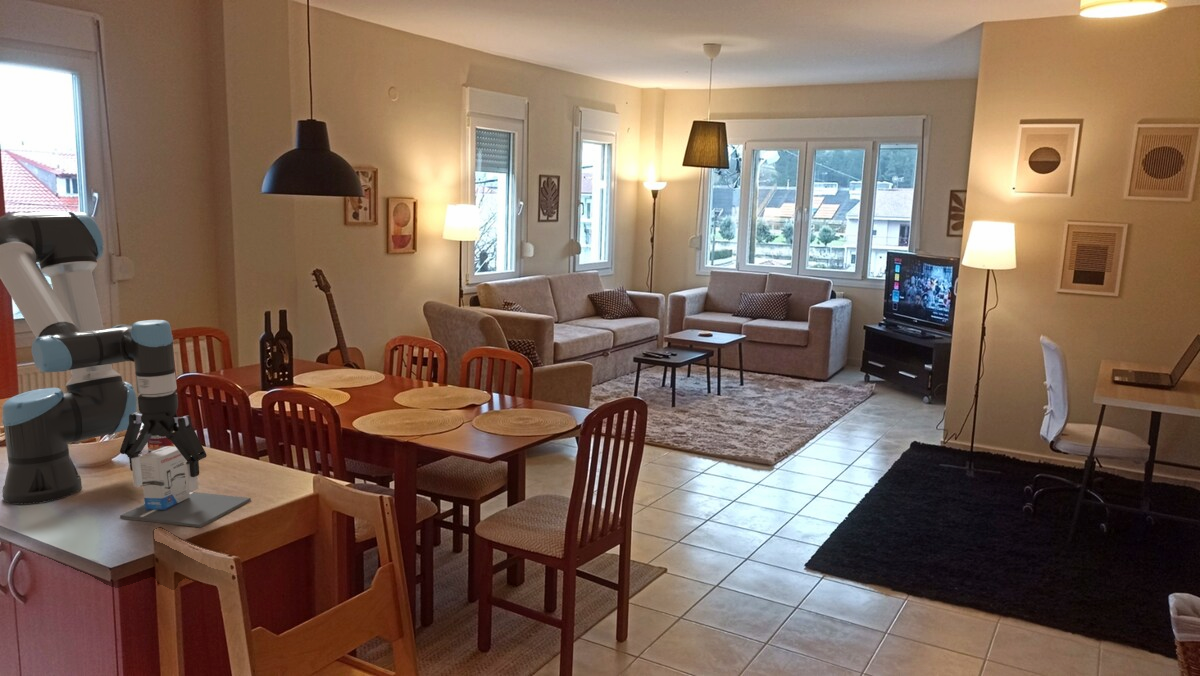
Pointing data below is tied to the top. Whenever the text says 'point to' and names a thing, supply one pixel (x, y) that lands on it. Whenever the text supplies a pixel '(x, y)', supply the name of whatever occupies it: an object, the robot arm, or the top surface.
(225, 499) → the mat
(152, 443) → the pill bottle
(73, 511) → the top surface
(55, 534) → the top surface
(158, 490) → the ink box
